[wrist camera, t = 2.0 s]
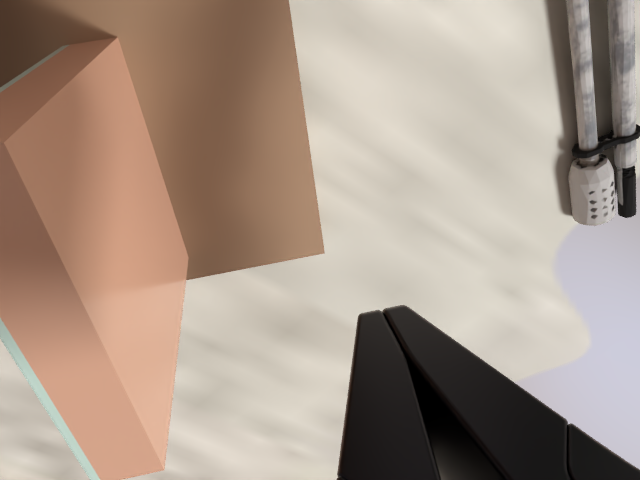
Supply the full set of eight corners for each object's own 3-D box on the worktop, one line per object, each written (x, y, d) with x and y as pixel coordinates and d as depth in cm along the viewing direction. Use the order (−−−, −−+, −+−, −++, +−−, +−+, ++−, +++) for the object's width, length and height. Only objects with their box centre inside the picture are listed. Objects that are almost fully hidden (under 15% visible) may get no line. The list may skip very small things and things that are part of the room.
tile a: (146, 265, 19) (93, 485, 11) (63, 45, 15) (-111, 162, 7) (188, 257, 19) (164, 469, 11) (117, 36, 15) (3, 142, 7)
